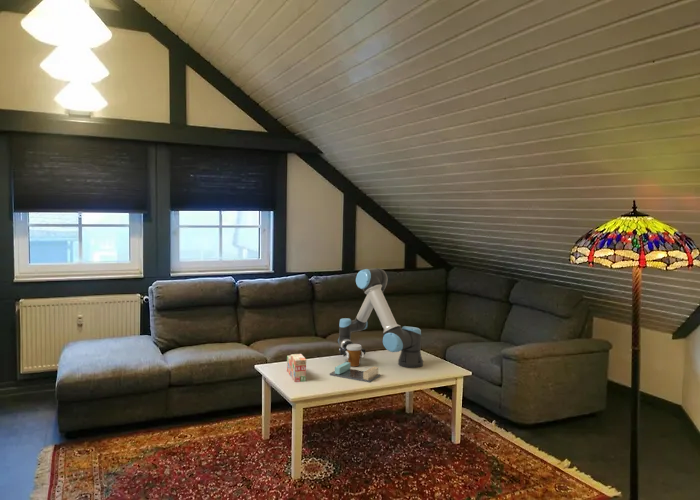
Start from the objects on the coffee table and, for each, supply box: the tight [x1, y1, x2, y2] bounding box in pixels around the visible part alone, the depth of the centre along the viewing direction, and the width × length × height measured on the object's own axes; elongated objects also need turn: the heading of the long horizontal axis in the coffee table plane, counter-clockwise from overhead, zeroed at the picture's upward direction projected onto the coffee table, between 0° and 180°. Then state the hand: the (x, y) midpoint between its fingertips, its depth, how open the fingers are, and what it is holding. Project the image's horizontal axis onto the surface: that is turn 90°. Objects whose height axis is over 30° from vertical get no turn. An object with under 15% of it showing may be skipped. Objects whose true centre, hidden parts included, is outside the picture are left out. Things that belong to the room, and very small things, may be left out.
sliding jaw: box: [334, 361, 351, 374], centre depth 321 cm, size 3×13×4 cm, turn 152°
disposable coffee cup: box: [346, 343, 363, 368], centre depth 336 cm, size 10×10×12 cm
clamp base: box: [329, 366, 381, 383], centre depth 317 cm, size 25×14×5 cm, turn 62°
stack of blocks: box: [286, 353, 307, 383], centre depth 313 cm, size 21×6×12 cm, turn 18°
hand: (355, 355), depth 332 cm, fingers closed on disposable coffee cup, 8 cm apart
